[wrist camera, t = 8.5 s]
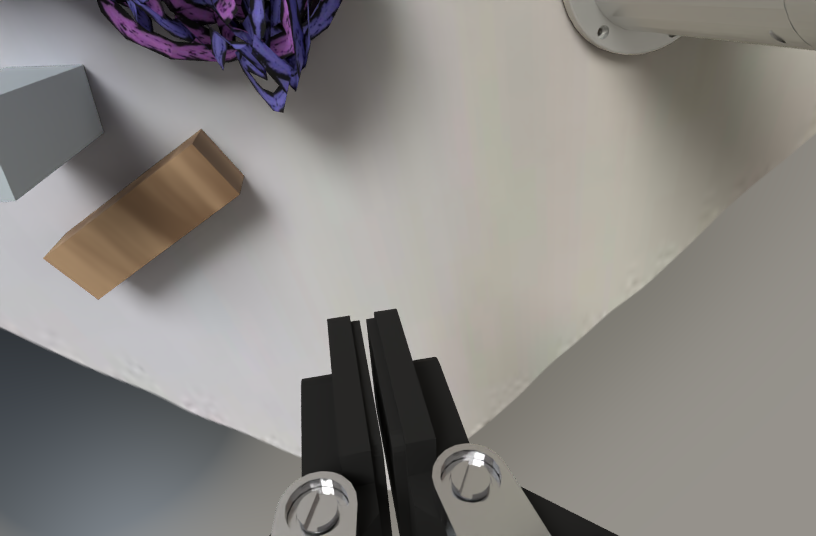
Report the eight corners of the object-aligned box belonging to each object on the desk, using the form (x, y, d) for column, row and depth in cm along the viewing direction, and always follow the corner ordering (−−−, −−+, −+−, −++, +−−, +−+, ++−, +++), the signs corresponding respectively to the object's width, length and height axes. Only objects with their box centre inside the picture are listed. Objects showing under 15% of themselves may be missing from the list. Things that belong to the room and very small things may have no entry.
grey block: (83, 65, 29) (-26, 103, 19) (103, 132, 31) (15, 201, 21) (7, 67, 28) (-149, 108, 18) (33, 136, 30) (-94, 209, 20)
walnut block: (191, 143, 29) (43, 258, 30) (239, 194, 31) (98, 299, 32) (201, 128, 33) (67, 231, 34) (244, 174, 35) (116, 270, 36)
